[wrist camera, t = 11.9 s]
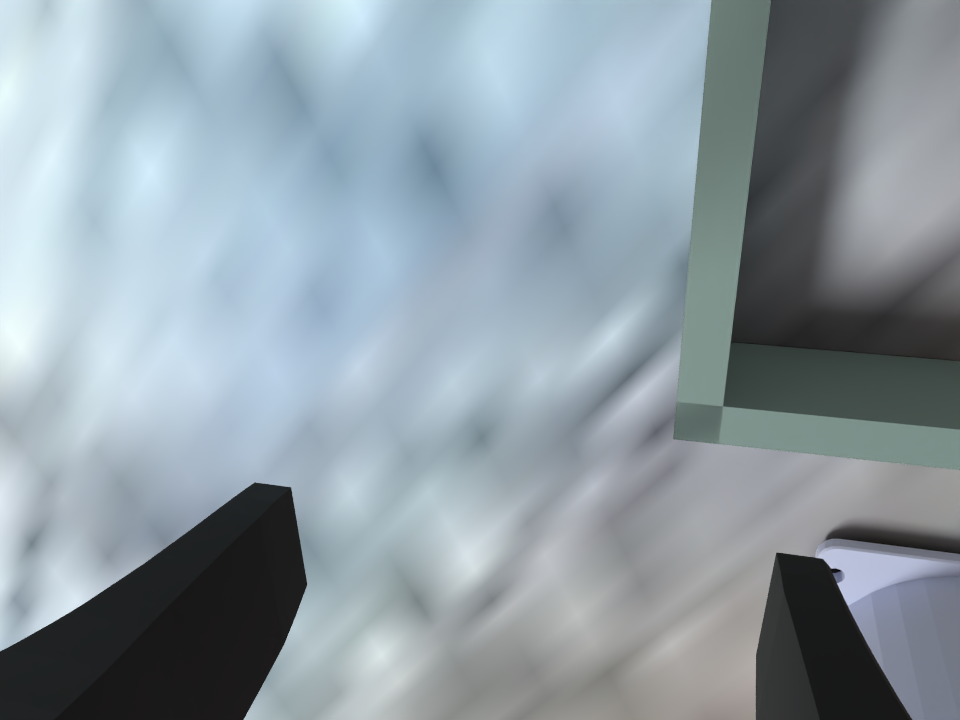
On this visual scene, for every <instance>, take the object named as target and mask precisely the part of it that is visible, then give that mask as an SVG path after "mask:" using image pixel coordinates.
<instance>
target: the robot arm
mask: <svg viewBox="0 0 960 720" xmlns="http://www.w3.org/2000/svg"><path fill="white" fill-rule="evenodd" d="M833 568H836V569H839V570H841V571H840V572H837V573H832V571H831V569H833ZM306 586H307V581H306V575H305V569H304V563H303V557H302V551H301V545H300V539H299V533H298V527H297V521H296V515H295V509H294V503H293V497H292V491H291V487H284V486H276V485H269V484H261V483H254V484H252V485H251V486H249V487H248V488H246V489H245V490H243V491H242V492H241V493H239V494H238V495H237V496H235V497H234V498H233V499H231V500H230V501H228V502H227V503H226V504H224V505H223V506H222V507H220V508H219V509H218V510H216V511H215V512H214V513H212V514H211V515H210V516H208V517H207V518H206V519H204V520H203V521H202V522H200V523H199V524H198V525H196V526H195V527H194V528H192V529H191V530H190V531H188V532H187V533H186V534H184V535H183V536H182V537H180V538H179V539H177V540H176V541H175V542H173V543H172V544H171V545H169V546H168V547H166V548H165V549H164V550H162V551H161V552H160V553H158V554H157V555H156V556H154V557H153V558H151V559H150V560H149V561H147V562H146V563H144V564H143V565H142V566H140V567H139V568H137V569H136V570H134V571H133V572H131V573H130V574H128V575H127V576H125V577H124V578H122V579H121V580H119V581H118V582H116V583H115V584H113V585H112V586H110V587H109V588H107V589H106V590H104V591H103V592H101V593H100V594H98V595H97V596H95V597H94V598H92V599H91V600H89V601H88V602H86V603H84V604H83V605H81V606H80V607H78V608H76V609H75V610H73V611H72V612H70V613H68V614H67V615H65V616H63V617H61V618H60V619H58V620H56V621H55V622H53V623H51V624H50V625H48V626H46V627H44V628H42V629H41V630H39V631H37V632H35V633H34V634H32V635H30V636H28V637H26V638H25V639H23V640H21V641H19V642H17V643H16V644H14V645H12V646H10V647H8V648H6V649H4V650H2V651H0V720H243V719H244V718H245V716H246V714H247V712H248V710H249V708H250V707H251V705H252V703H253V701H254V699H255V698H256V696H257V694H258V692H259V690H260V688H261V687H262V685H263V683H264V681H265V679H266V677H267V675H268V674H269V672H270V670H271V668H272V666H273V664H274V662H275V661H276V659H277V657H278V655H279V653H280V651H281V649H282V647H283V645H284V643H285V641H286V638H287V636H288V633H289V631H290V628H291V626H292V624H293V621H294V619H295V616H296V613H297V611H298V608H299V605H300V603H301V600H302V597H303V594H304V592H305V589H306ZM756 720H960V554H956V553H948V552H940V551H932V550H924V549H916V548H908V547H900V546H893V545H885V544H877V543H869V542H861V541H853V540H845V539H829V540H826V541H824V542H822V543H821V544H820V545H819V546H818V548H817V550H816V555H815V558H813V557H806V556H798V555H791V554H783V553H776V557H775V562H774V567H773V573H772V578H771V583H770V588H769V593H768V598H767V603H766V608H765V613H764V618H763V623H762V628H761V633H760V639H759V644H758V649H757V654H756Z"/></svg>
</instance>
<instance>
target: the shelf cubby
mask: <svg viewBox="0 0 960 720" xmlns="http://www.w3.org/2000/svg"><path fill="white" fill-rule="evenodd" d="M770 6H771V0H712V2H711V14H710V25H709V36H708V48H707V59H706V71H705V82H704V93H703V105H702V116H701V127H700V139H699V150H698V162H697V173H696V184H695V196H694V207H693V219H692V230H691V241H690V253H689V264H688V276H687V287H686V298H685V310H684V321H683V332H682V344H681V355H680V367H679V378H678V389H677V401H676V412H675V424H674V435H673V439H677V440H686V441H695V442H705V443H714V444H723V445H732V446H742V447H751V448H760V449H770V450H779V451H788V452H798V453H807V454H816V455H825V456H835V457H844V458H853V459H863V460H872V461H881V462H891V463H900V464H909V465H918V466H928V467H937V468H946V469H956V470H960V361H951V360H939V359H926V358H914V357H902V356H890V355H878V354H866V353H854V352H842V351H829V350H817V349H805V348H793V347H781V346H769V345H757V344H745V343H733V342H731V335H732V326H733V318H734V309H735V301H736V293H737V284H738V276H739V267H740V259H741V250H742V242H743V234H744V225H745V217H746V208H747V200H748V191H749V183H750V175H751V166H752V158H753V149H754V141H755V133H756V124H757V116H758V107H759V99H760V90H761V82H762V74H763V65H764V57H765V48H766V40H767V31H768V23H769V15H770Z"/></svg>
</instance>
